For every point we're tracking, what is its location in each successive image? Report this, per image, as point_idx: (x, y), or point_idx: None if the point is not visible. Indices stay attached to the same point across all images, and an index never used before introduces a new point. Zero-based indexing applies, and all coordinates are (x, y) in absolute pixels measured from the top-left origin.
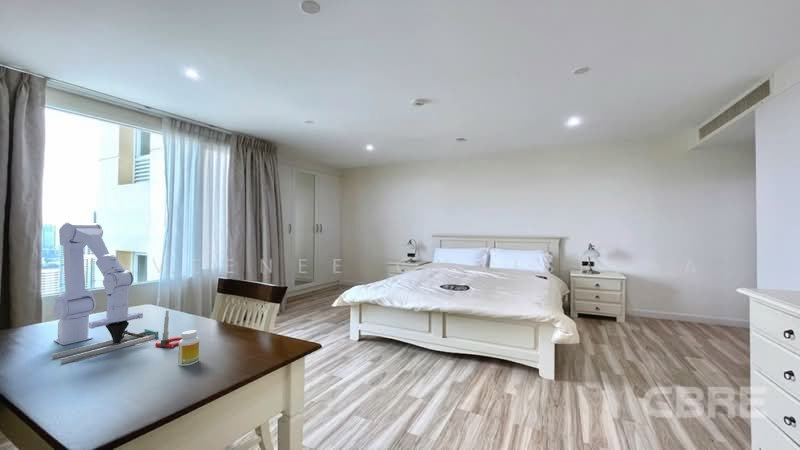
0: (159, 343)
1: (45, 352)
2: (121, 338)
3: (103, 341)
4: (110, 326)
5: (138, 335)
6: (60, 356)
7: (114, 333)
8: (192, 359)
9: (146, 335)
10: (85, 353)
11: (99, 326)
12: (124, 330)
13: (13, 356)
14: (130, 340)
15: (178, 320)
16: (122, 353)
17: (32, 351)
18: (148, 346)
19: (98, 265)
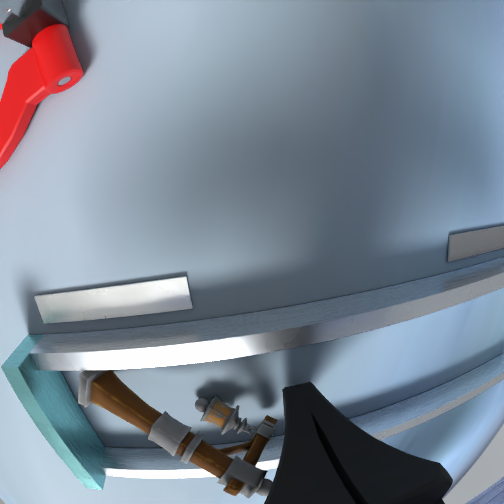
0: (56, 41)
1: (455, 446)
2: (262, 439)
3: None
4: (444, 493)
5: (143, 415)
6: (489, 364)
7: (374, 438)
8: None
9: (86, 384)
10: (492, 275)
11: (498, 482)
12: (281, 470)
13: (484, 444)
14: (201, 408)
15: (4, 488)
16: (336, 127)
17: (452, 467)
18: (117, 142)
19: None
